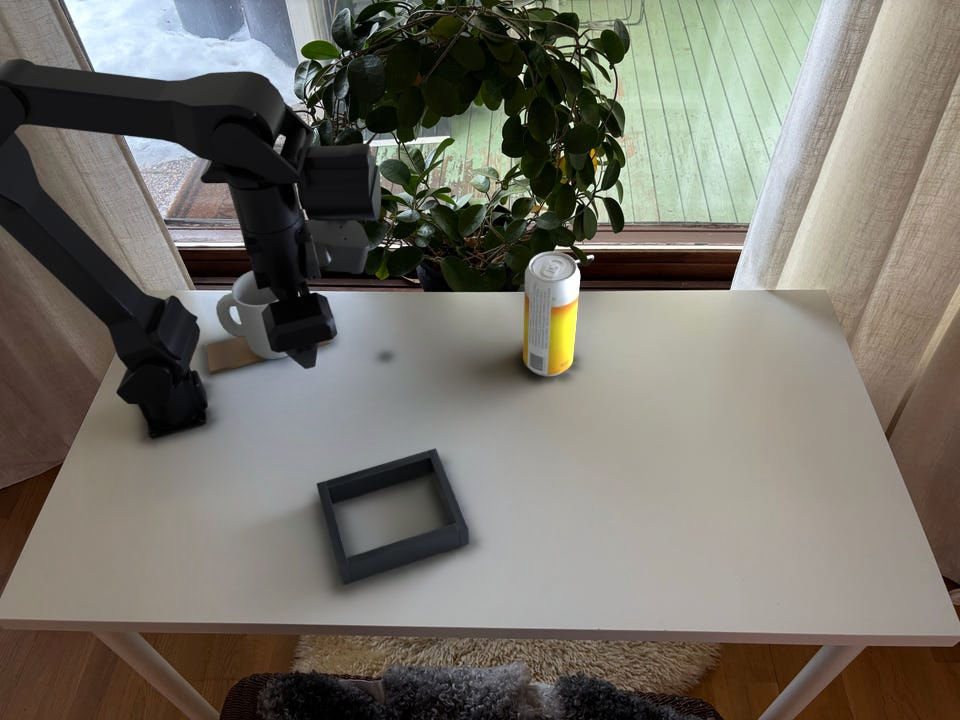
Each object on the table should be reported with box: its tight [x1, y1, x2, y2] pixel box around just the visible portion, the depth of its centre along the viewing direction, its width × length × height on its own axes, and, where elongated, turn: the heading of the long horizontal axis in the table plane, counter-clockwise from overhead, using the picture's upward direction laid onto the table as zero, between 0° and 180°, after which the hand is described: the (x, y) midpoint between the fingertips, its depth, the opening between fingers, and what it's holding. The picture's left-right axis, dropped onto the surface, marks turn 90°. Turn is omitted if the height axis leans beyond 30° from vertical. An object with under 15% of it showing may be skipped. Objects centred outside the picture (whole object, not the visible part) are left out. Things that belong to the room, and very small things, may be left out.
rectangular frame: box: [316, 448, 470, 586], centre depth 80 cm, size 13×11×3 cm
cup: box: [215, 270, 289, 360], centre depth 97 cm, size 7×10×9 cm
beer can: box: [522, 251, 581, 377], centre depth 92 cm, size 6×6×15 cm
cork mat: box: [205, 336, 331, 375], centre depth 100 cm, size 15×5×1 cm, turn 110°
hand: (301, 338), depth 84 cm, fingers open, 9 cm apart
